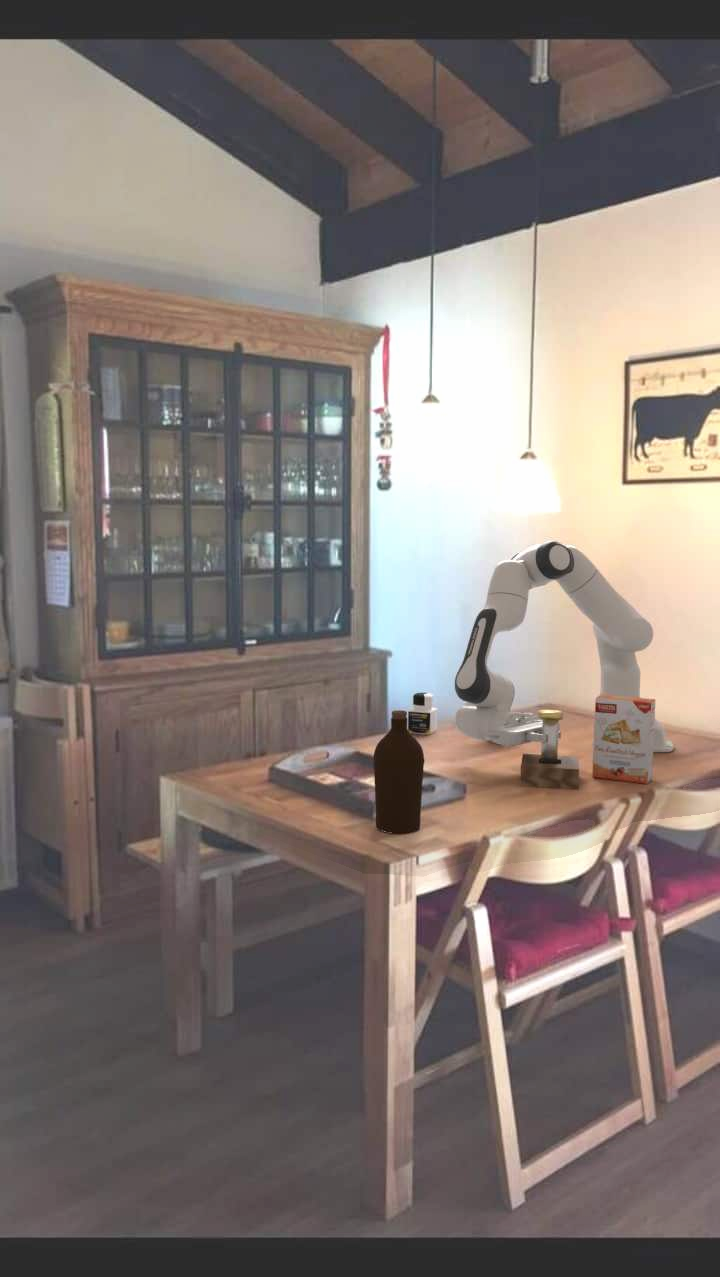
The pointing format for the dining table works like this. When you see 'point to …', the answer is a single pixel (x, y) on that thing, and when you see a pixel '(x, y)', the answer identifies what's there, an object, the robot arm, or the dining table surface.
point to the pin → (550, 735)
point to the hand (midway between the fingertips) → (553, 737)
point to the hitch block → (550, 772)
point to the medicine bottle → (422, 715)
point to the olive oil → (398, 778)
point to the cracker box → (623, 738)
